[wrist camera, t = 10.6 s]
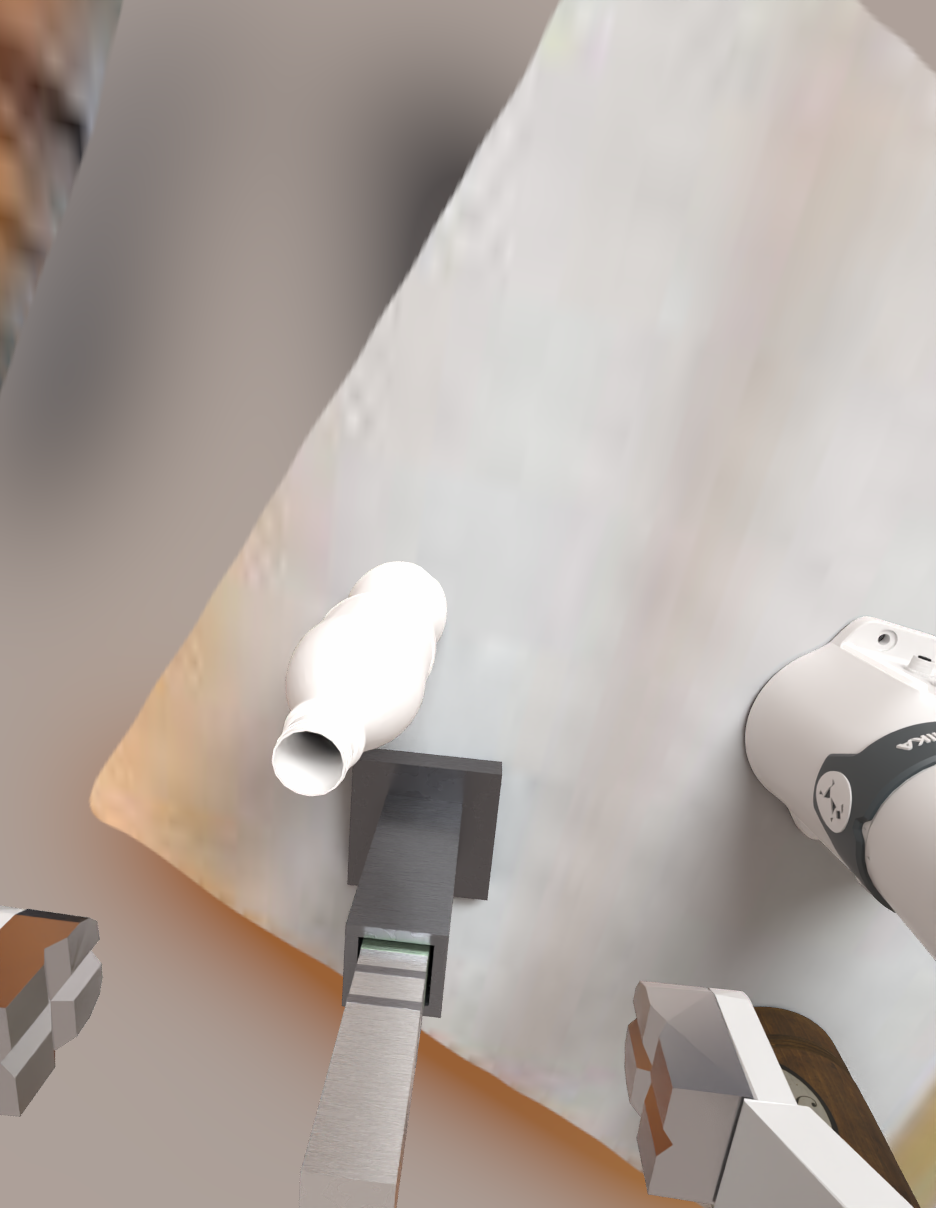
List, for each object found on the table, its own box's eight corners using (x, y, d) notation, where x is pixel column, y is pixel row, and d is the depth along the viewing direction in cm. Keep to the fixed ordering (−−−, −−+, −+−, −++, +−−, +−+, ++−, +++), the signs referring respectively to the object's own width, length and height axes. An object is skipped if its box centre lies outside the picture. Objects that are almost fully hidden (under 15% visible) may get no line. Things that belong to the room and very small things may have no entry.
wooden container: (734, 979, 56) (876, 1308, 35) (870, 1047, 57) (1086, 1405, 36) (645, 1085, 60) (723, 1440, 39) (774, 1147, 61) (918, 1525, 40)
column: (441, 863, 45) (396, 1184, 26) (437, 909, 46) (391, 1251, 27) (385, 856, 45) (299, 1172, 26) (382, 903, 46) (297, 1239, 27)
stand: (501, 762, 52) (502, 908, 36) (487, 883, 55) (482, 1068, 39) (358, 746, 52) (295, 885, 36) (352, 868, 55) (292, 1045, 39)
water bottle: (429, 658, 50) (361, 867, 26) (345, 622, 49) (196, 802, 25) (464, 577, 48) (427, 721, 24) (378, 540, 47) (250, 648, 23)
